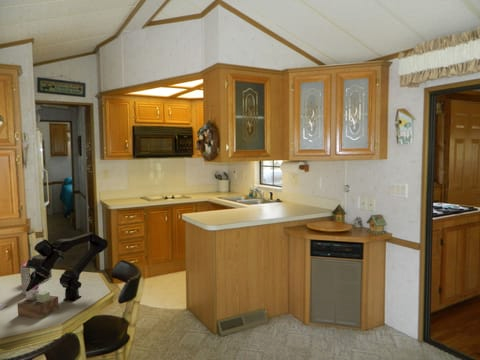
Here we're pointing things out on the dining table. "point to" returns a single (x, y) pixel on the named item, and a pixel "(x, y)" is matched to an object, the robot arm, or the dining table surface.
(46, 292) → the sage peg
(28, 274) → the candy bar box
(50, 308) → the walnut block
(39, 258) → the coffee can
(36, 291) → the steel peg
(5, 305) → the dining table surface
